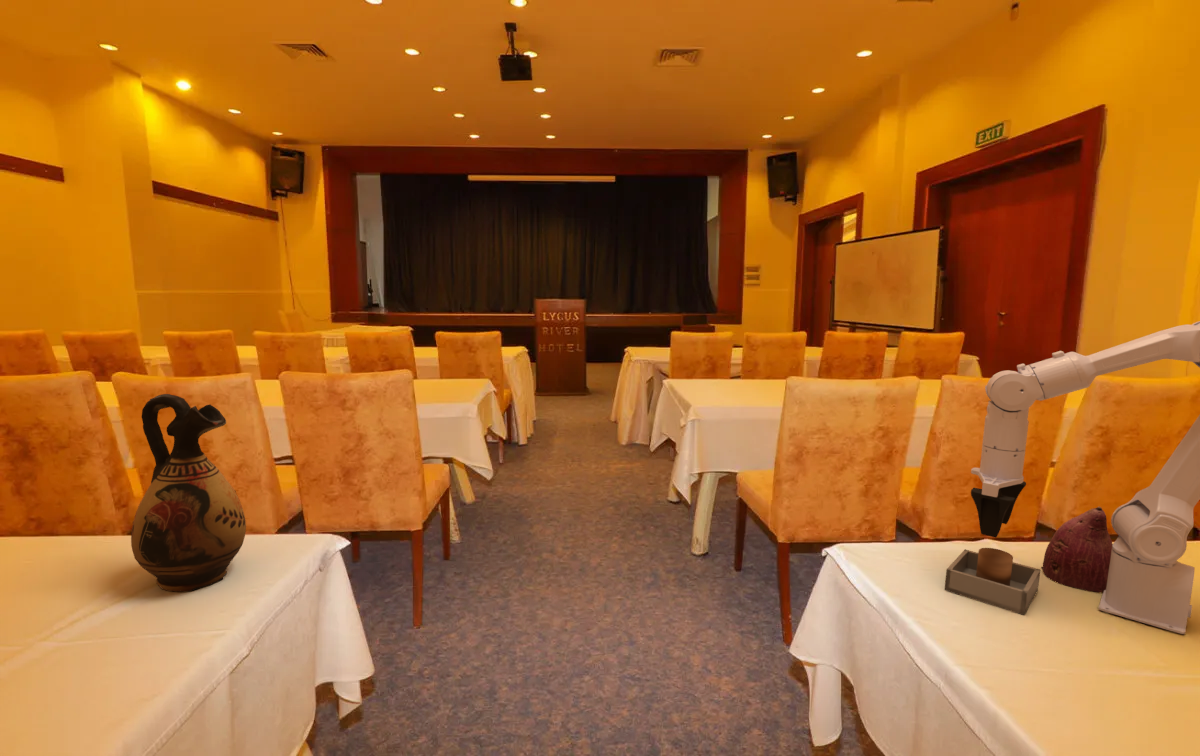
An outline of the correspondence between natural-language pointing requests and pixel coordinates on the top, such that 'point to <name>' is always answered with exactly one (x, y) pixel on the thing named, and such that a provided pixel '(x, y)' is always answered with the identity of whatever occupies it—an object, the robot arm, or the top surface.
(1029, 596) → the grey bin
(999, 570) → the walnut cylinder
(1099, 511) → the vegetable
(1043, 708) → the top surface
